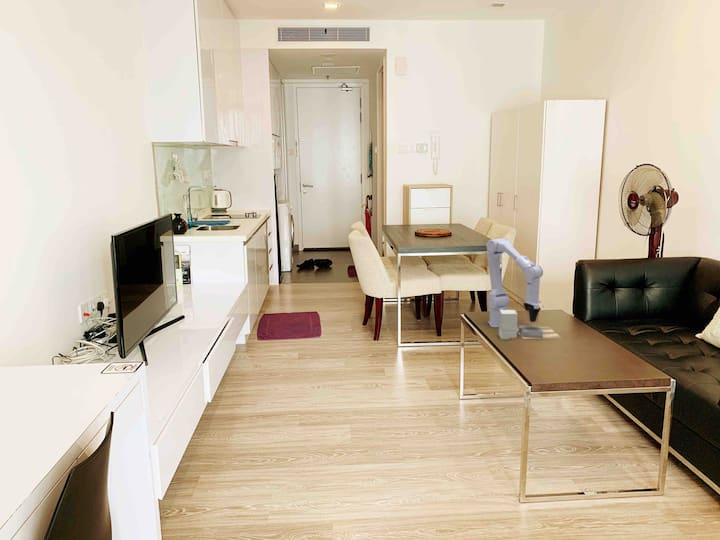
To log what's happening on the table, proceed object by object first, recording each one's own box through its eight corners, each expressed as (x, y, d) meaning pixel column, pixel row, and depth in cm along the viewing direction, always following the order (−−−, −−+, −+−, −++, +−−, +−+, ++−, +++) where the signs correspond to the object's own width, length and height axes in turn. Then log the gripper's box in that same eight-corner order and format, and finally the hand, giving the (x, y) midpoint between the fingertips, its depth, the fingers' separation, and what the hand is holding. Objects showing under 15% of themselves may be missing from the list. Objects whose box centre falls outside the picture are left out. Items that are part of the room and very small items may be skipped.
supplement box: (513, 335, 265) (515, 309, 262) (516, 340, 257) (518, 313, 255) (498, 334, 265) (499, 309, 263) (500, 339, 258) (501, 313, 256)
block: (524, 320, 263) (524, 310, 262) (534, 320, 263) (535, 310, 262) (527, 323, 258) (528, 313, 257) (538, 323, 258) (538, 313, 257)
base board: (512, 328, 274) (513, 321, 273) (549, 328, 274) (549, 321, 273) (523, 340, 256) (523, 332, 256) (561, 340, 256) (562, 332, 256)
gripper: (546, 295, 251) (544, 324, 254) (536, 288, 265) (534, 315, 268) (530, 295, 251) (529, 324, 254) (521, 288, 265) (520, 315, 268)
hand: (531, 319), depth 261 cm, fingers closed on block, 5 cm apart
